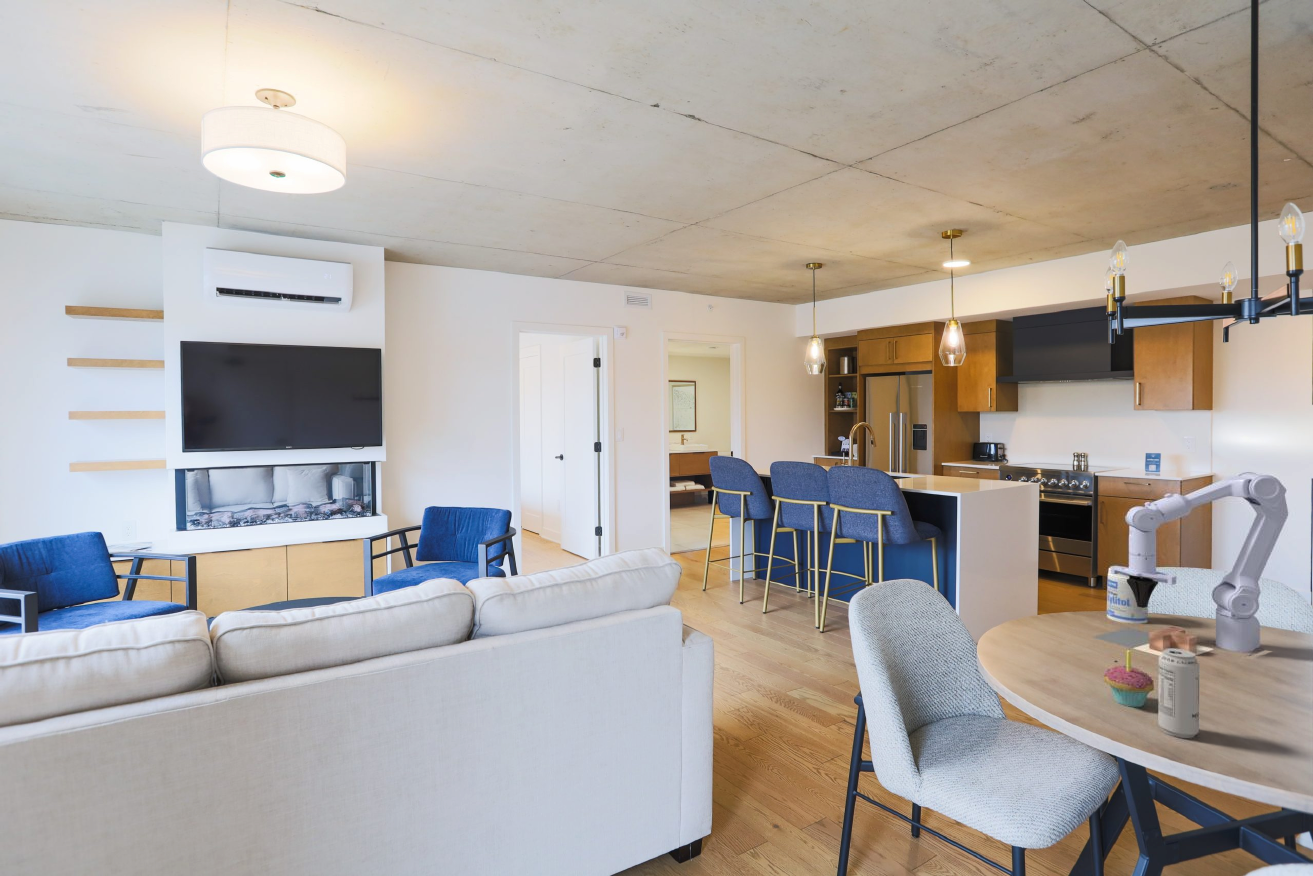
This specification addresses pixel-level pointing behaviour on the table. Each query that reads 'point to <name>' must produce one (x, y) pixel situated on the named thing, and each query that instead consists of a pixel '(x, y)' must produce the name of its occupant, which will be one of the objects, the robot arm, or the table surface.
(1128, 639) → the board
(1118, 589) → the supplement tub
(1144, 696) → the cupcake
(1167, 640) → the t block
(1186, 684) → the energy drink can
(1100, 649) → the table surface
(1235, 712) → the table surface
